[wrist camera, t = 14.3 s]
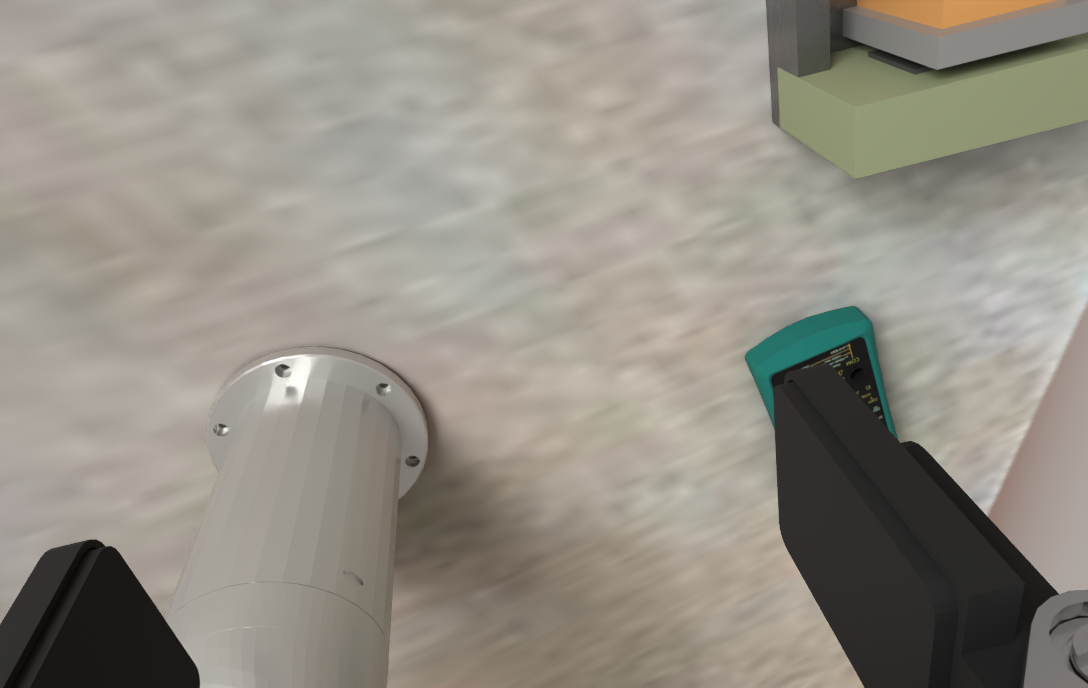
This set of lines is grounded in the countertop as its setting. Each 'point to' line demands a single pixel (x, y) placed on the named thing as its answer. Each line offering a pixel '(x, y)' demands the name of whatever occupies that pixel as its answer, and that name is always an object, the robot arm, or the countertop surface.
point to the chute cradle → (910, 92)
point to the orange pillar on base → (961, 27)
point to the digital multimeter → (824, 357)
